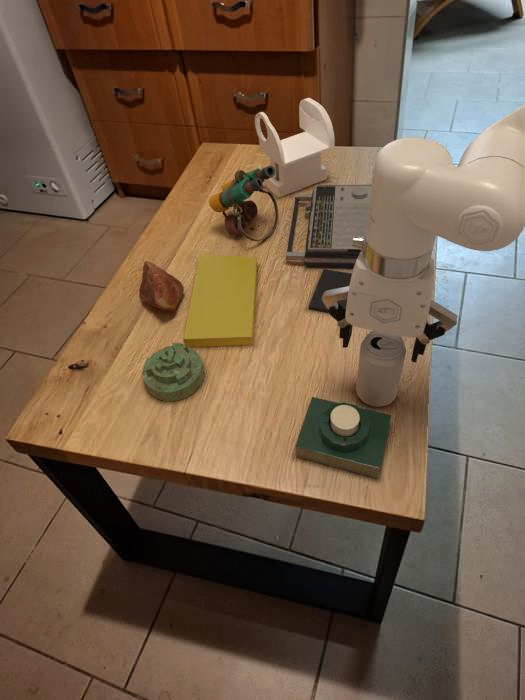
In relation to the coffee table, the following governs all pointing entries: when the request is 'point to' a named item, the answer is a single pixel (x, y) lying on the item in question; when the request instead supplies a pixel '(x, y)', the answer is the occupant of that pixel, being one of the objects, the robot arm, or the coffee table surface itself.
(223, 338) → the flat olive board
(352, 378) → the coffee table surface
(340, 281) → the coaster
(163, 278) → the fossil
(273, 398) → the coffee table surface
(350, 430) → the cylinder
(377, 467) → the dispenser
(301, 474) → the coffee table surface
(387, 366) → the beverage can
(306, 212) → the radio
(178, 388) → the decorative artifact
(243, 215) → the binoculars
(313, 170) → the tape dispenser
